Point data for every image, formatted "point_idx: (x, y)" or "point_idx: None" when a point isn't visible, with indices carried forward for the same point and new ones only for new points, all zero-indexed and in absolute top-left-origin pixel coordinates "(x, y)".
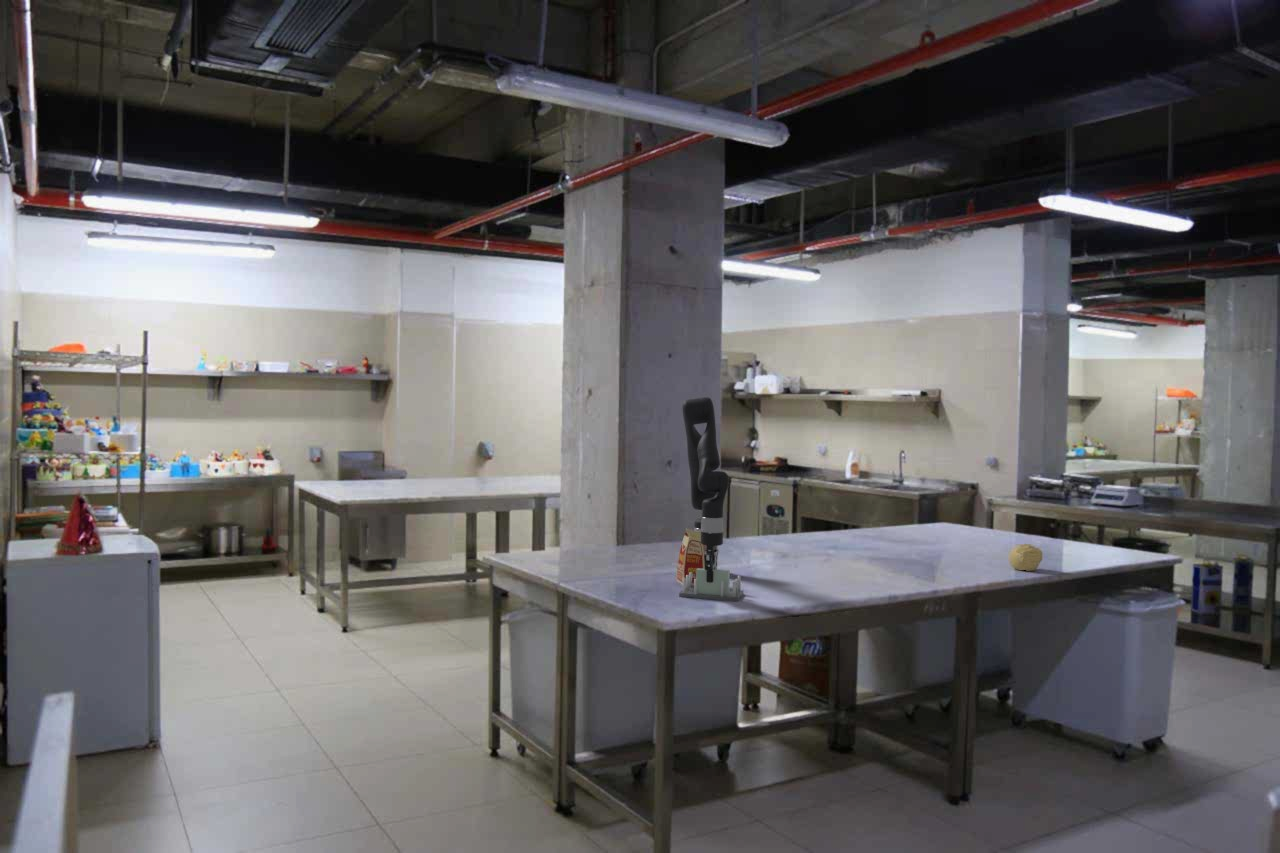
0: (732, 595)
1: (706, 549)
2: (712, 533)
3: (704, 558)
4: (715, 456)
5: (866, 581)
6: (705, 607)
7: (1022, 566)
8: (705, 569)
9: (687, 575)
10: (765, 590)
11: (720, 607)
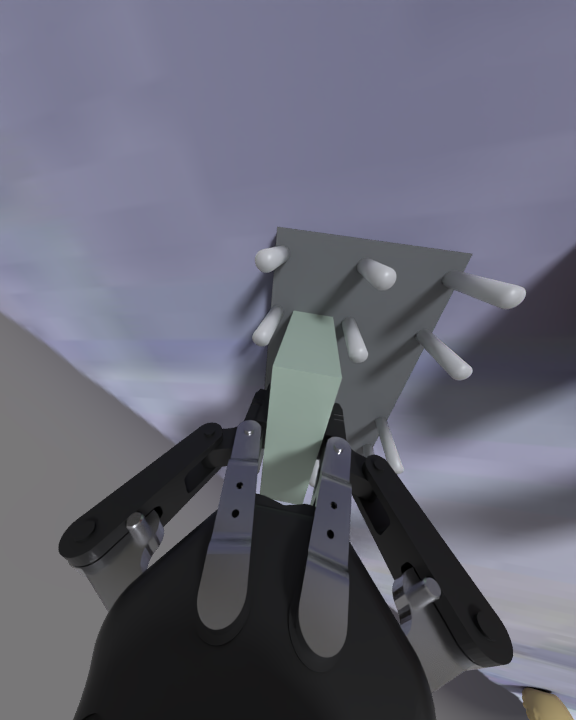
0: None
1: (100, 656)
2: None
3: (97, 506)
4: None
5: (500, 612)
6: (146, 344)
7: (529, 697)
8: (201, 427)
9: (383, 278)
10: (422, 493)
11: (170, 383)
